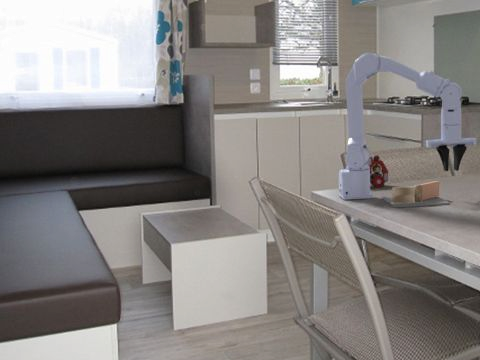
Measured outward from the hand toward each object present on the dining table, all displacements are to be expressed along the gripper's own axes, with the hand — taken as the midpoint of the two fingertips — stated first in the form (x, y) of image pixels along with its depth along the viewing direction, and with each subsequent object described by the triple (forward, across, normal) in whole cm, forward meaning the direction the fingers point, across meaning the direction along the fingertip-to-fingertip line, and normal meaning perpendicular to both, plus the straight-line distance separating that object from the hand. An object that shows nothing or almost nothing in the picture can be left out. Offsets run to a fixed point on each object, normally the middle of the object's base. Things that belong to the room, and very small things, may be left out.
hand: (451, 170), depth 209 cm
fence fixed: (+8, +15, +5) cm, 17 cm away
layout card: (+8, +12, +2) cm, 14 cm away
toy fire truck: (+9, +18, -28) cm, 35 cm away
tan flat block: (+8, +7, +1) cm, 11 cm away
